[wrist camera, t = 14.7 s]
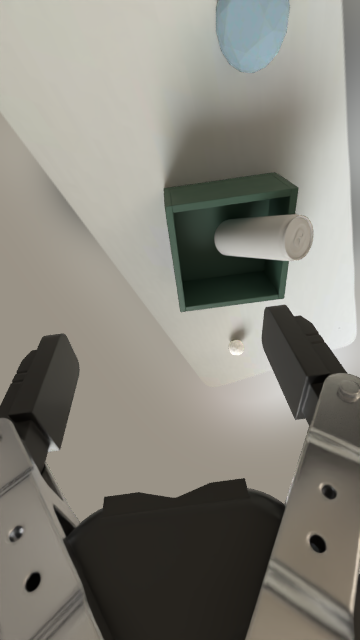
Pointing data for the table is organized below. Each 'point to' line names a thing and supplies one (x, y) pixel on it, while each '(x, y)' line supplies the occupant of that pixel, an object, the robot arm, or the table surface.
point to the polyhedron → (236, 347)
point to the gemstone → (251, 31)
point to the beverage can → (265, 237)
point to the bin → (199, 245)
